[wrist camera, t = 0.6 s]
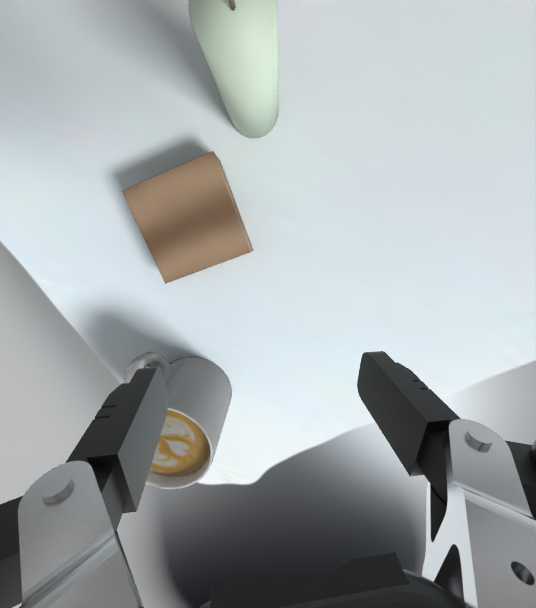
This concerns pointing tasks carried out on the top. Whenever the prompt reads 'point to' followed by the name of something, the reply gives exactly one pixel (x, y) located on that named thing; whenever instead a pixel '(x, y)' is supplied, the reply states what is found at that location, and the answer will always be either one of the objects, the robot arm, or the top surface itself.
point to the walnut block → (189, 218)
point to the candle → (241, 58)
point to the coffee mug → (187, 418)
